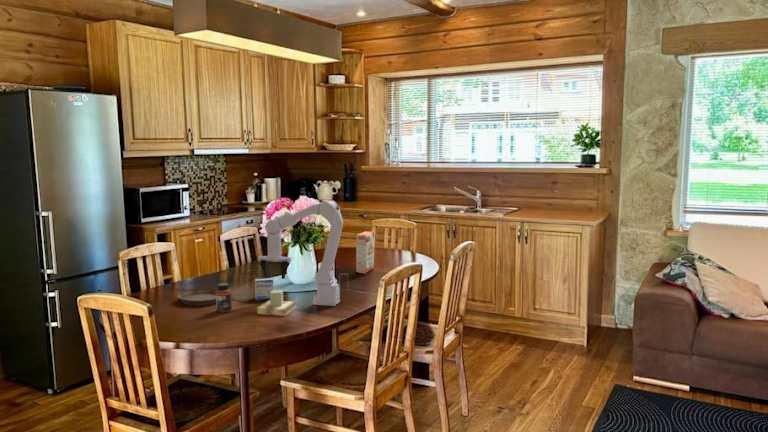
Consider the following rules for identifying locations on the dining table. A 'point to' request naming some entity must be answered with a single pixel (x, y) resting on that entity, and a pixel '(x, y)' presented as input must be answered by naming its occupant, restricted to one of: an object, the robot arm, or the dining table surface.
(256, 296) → the medicine box
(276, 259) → the robot arm
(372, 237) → the cracker box
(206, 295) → the plant saucer
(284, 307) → the plinth
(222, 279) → the dining table surface
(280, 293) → the block
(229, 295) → the supplement bottle
